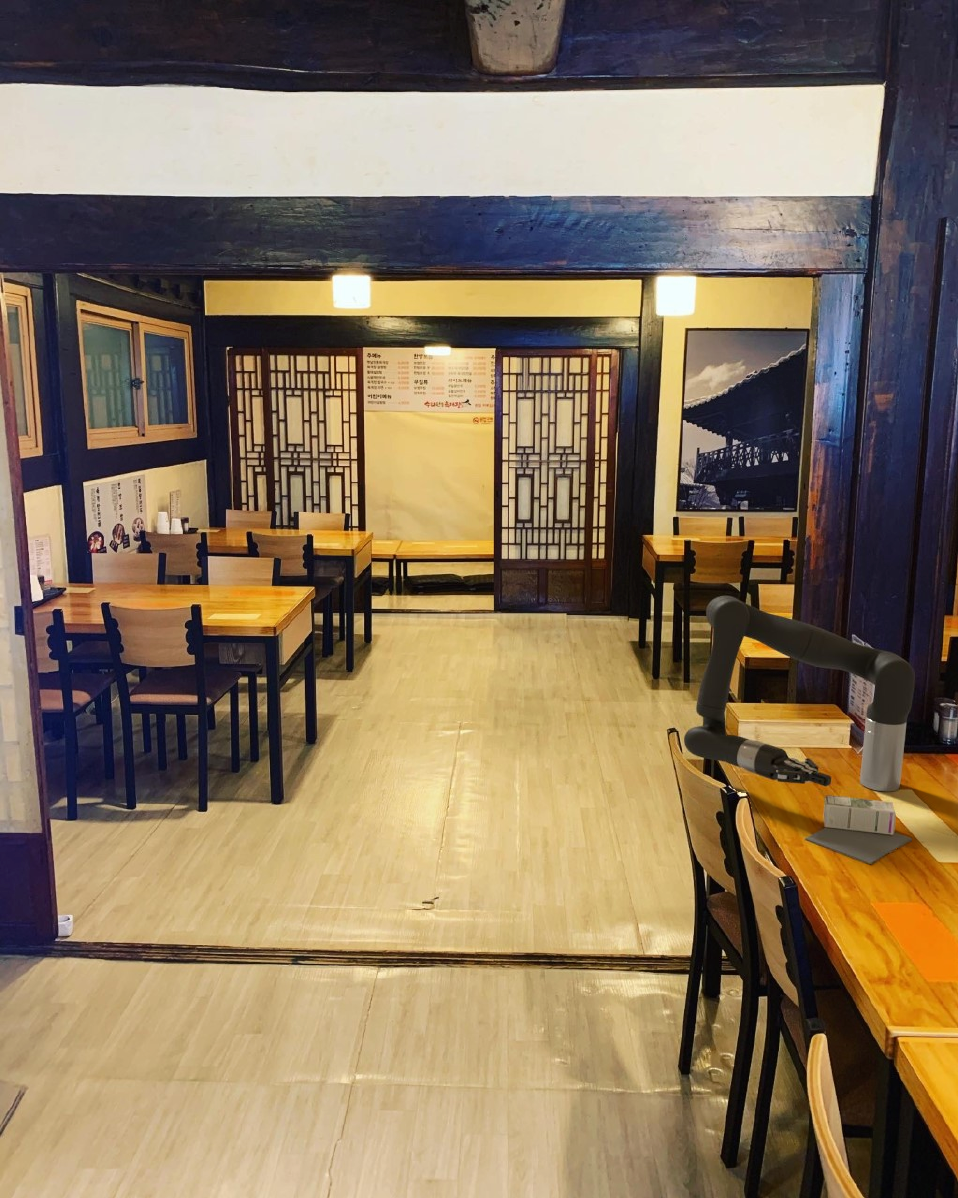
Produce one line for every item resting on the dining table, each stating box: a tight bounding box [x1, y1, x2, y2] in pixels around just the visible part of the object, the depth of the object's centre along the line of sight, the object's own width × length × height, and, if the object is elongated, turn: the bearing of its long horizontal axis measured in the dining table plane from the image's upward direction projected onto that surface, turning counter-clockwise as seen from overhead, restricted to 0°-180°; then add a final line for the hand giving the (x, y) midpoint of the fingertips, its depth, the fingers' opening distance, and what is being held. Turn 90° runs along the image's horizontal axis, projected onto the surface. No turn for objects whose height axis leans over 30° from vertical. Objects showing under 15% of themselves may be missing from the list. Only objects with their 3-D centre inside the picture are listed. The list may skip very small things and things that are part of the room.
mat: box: [804, 827, 913, 865], centre depth 216 cm, size 18×15×1 cm
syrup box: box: [822, 794, 896, 835], centre depth 221 cm, size 6×6×14 cm
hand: (829, 781), depth 220 cm, fingers closed
